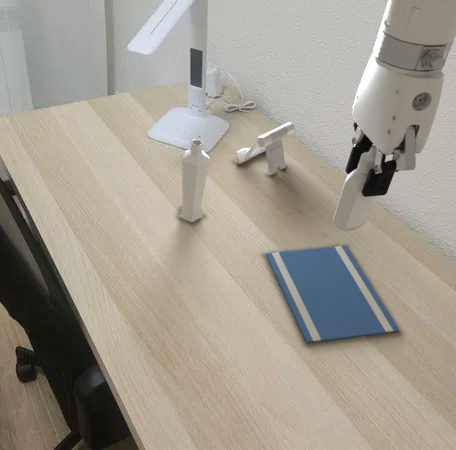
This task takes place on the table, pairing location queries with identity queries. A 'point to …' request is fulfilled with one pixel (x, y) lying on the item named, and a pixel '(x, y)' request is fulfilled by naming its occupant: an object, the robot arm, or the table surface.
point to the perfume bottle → (193, 180)
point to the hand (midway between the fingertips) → (365, 182)
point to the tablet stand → (268, 147)
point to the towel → (330, 294)
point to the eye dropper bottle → (355, 196)
